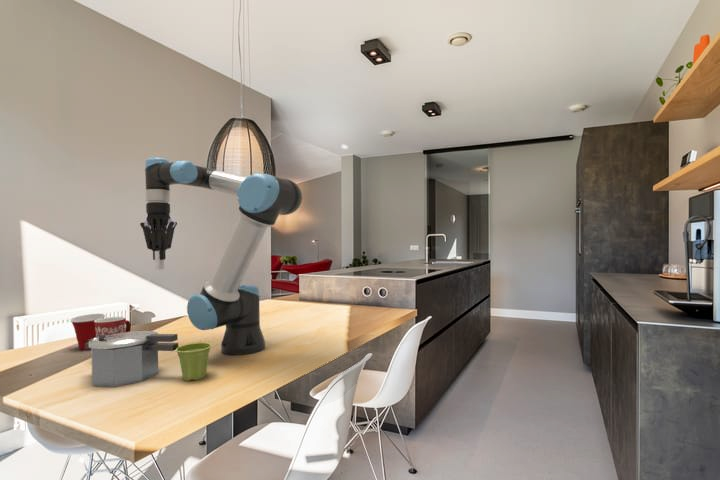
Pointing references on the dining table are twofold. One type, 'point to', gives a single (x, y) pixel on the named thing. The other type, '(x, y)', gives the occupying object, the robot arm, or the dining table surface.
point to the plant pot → (194, 360)
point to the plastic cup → (85, 328)
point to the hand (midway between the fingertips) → (159, 269)
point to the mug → (111, 325)
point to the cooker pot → (126, 363)
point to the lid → (129, 339)
